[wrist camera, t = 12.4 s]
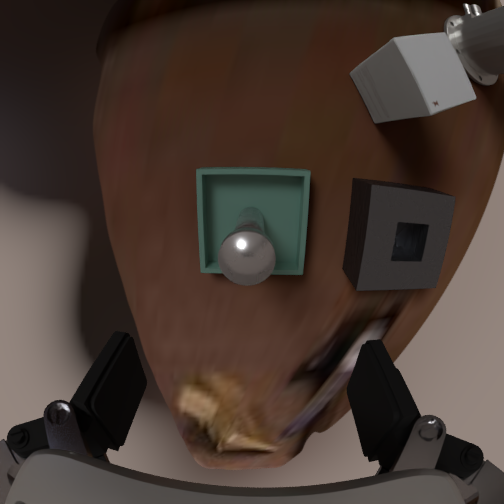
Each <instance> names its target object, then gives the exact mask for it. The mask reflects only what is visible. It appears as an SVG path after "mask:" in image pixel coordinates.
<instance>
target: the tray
mask: <svg viewBox="0 0 504 504" xmlns="http://www.w3.org/2000/svg"><path fill="white" fill-rule="evenodd" d="M196 177H197V211H198V234H199V252H200V267H201V273H222V271H221V269H220V267H219V264H218V253H219V250H220V247H221V244H222V242H223V240H224V239H225V237H226V236H227V235H228V234H229V233H231V232H232V231H234V230H235V226H236V223H237V219H238V216H239V213H240V212H241V211H242V210H243V209H245V208H247V207H254V208H257V209H258V210H259V211H260V212H261V213H262V215H263V220H264V233H265V234H266V235H267V236H268V237H269V238H270V240H271V241H272V243H273V246H274V250H275V256H276V262H275V267H274V269H273V271H272V273H271V274H272V275H303V267H304V257H305V246H306V234H307V220H308V206H309V189H310V171H309V170H307V169H292V168H265V167H203V168H199V169H196Z"/></svg>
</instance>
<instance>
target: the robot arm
mask: <svg viewBox="0 0 504 504" xmlns="http://www.w3.org/2000/svg"><path fill="white" fill-rule="evenodd" d="M463 7H464V10H465V12H466V14H465V16H463V17H462V16H458V15H454V16H452V17H449V18H448V19H447V20H446V21H445V24H444V32H445V33H446V35H447V36H448V38H449V40H450V42H451V44H452V46H453V47H454V49H455V51H456V53H457V55H458V57H459V59H460V61H461V63H462V65H463V68H464V70H465V72H466V74H467V75H468V76H469V77H470V78H471V79H472V80H473V81H475V82H477V83H478V84H481V85H486V86H487V85H492V84H494V83H495V82H496V81H497V79H498V74H504V6H502V7H499V8H496V9H494V10H491V11H488V12H486V13H483V14H482V12H481V9H480V7H479V6H477V5H471V6H470V5H468V4H463ZM471 10H472V11H471ZM472 13H473V14H472ZM146 385H147V380H146V376H145V374H144V371H143V368H142V365H141V362H140V359H139V356H138V353H137V349H136V346H135V343H134V339H133V338H132V337H130V335H129V334H128V333H125V332H118V331H115V332H114V333H113V335H112V336H111V338H110V339H109V341H108V342H107V344H106V345H105V347H104V348H103V350H102V351H101V353H100V354H99V356H98V358H97V359H96V360H95V362H94V363H93V365H92V366H91V368H90V370H89V371H88V373H87V374H86V376H85V378H84V379H83V381H82V382H81V384H80V386H79V387H78V389H77V391H76V393H75V394H74V396H73V398H72V399H71V401H70V403H69V402H67V401H64V400H56V401H54V402H51V403H50V404H49V405H47V407H46V408H45V411H44V417H42V418H39V419H36V420H33V421H30V422H26V423H23V424H19V425H16V426H14V427H13V428H11V430H10V431H9V433H8V435H7V440H6V441H5V440H4V439H3V440H1V441H0V504H504V472H502V471H501V470H500V469H499V468H497V467H496V466H495V465H494V464H492V463H491V462H490V461H488V460H486V461H484V460H483V459H484V457H483V452H482V450H481V449H480V448H479V447H478V446H476V445H474V444H472V443H469V442H467V441H464V440H461V439H459V438H456V437H454V436H451V435H449V434H446V426H445V424H444V423H443V421H442V420H441V419H440V418H438V417H436V416H433V415H425V416H422V417H421V415H420V413H419V411H418V408H417V406H416V404H415V402H414V400H413V398H412V395H411V393H410V391H409V389H408V387H407V385H406V383H405V381H404V379H403V377H402V375H401V373H400V371H399V370H398V369H397V368H395V366H394V364H393V362H392V360H391V358H390V356H389V354H388V352H387V350H386V348H385V346H384V344H383V342H382V341H381V340H380V339H379V340H368V341H366V343H365V344H363V345H362V346H361V349H360V352H359V355H358V358H357V361H356V364H355V367H354V370H353V373H352V375H351V378H350V381H349V383H348V386H347V395H348V399H349V402H350V406H351V409H352V413H353V416H354V420H355V424H356V427H357V431H358V435H359V439H360V443H361V447H362V451H363V454H364V456H365V457H367V456H368V460H369V462H371V461H375V460H378V461H379V465H380V468H379V469H378V471H377V473H376V475H375V476H370V477H365V478H360V479H355V480H349V481H342V482H336V483H329V484H320V485H311V486H300V487H278V488H250V487H247V488H246V487H229V486H218V485H208V484H200V483H192V482H186V481H180V480H175V479H169V478H164V477H160V476H154V475H151V474H147V473H143V472H139V471H135V470H131V469H128V468H124V467H121V466H118V465H114V464H111V463H110V462H109V460H108V457H107V455H106V452H107V449H108V448H110V449H113V450H116V451H118V450H119V447H120V446H123V445H124V443H125V440H126V437H127V434H128V432H129V429H130V427H131V424H132V422H133V419H134V416H135V413H136V411H137V409H138V406H139V404H140V401H141V398H142V396H143V394H144V391H145V389H146Z"/></svg>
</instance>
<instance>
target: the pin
mask: <svg viewBox="0 0 504 504" xmlns="http://www.w3.org/2000/svg"><path fill="white" fill-rule="evenodd" d="M275 262H276V256H275V250H274V246H273V243H272V241H271V240H270V238H269V237H268V236H267V235H266V234H265V233H264V220H263V215H262V213H261V212H260V211H259V210H258V209H257V208H254V207H247V208H245V209H243V210H242V211H241V212H240V213H239V216H238V219H237V223H236V226H235V230H234V231H232V232H231V233H229V234H228V235H227V236H226V237H225V239H224V240H223V242H222V244H221V247H220V250H219V253H218V264H219V267H220V269H221V271H222V273H223V274H224V275H225V276H226V277H227V278H228V279H229V280H230V281H232V282H234V283H236V284H240V285H255V284H258V283H260V282H262V281H264V280H265V279H267V278H268V277H269V276H270V274H271V273H272V271H273V269H274V267H275Z"/></svg>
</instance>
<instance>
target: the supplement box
mask: <svg viewBox="0 0 504 504" xmlns="http://www.w3.org/2000/svg"><path fill="white" fill-rule="evenodd" d="M350 76H351V78H352V79H353V81H354V83H355V85H356V87H357V89H358V91H359V93H360V94H361V96H362V98H363V100H364V102H365V104H366V106H367V109H368V111H369V113H370V115H371V117H372V119H373V121H374V123H382V122H388V121H394V120H401V119H407V118H415V117H423V116H431V115H434V114H437V113H439V112H442V111H444V110H447V109H450V108H452V107H455V106H458V105H460V104H463V103H466V102H468V101H472V100H475V99H476V96H475V93H474V91H473V88H472V86H471V83H470V81H469V79H468V76H467V74H466V72H465V70H464V68H463V65H462V63H461V61H460V59H459V57H458V55H457V53H456V51H455V49H454V47H453V46H452V44H451V42H450V40H449V38H448V36H447V35H446V33H445V32H444V33H432V34H420V35H411V36H403V37H395V38H393V39H392V40H390V41H389V42H388V43H387V44H386V45H384V46H383V47H382V48H380V49H379V50H378V51H376V52H375V53H374V54H372V55H371V56H370V57H369V58H367V59H366V60H365V61H363V62H362V63H361V64H360V65H358V66H357V67H356V68H355V69H354V70H353V71H351V72H350Z"/></svg>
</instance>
